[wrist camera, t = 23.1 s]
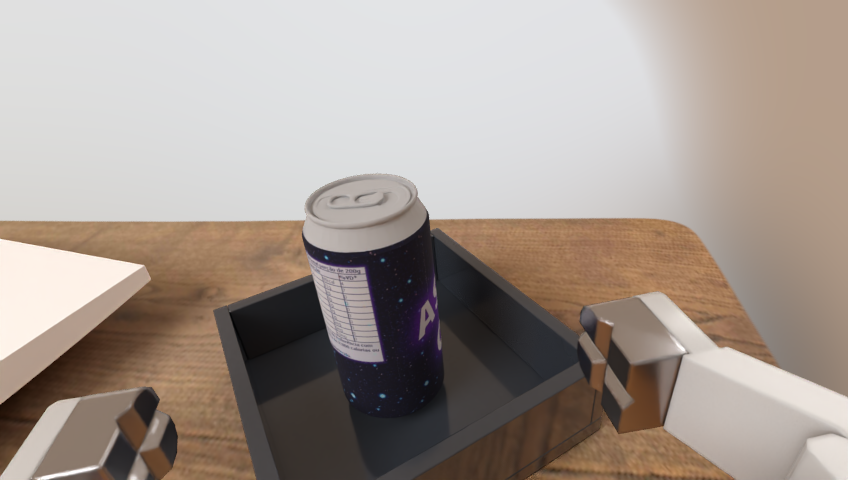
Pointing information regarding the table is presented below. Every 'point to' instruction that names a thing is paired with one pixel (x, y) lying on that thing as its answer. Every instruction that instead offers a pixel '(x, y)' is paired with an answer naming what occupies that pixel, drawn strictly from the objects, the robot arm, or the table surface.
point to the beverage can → (377, 291)
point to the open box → (435, 422)
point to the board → (54, 304)
